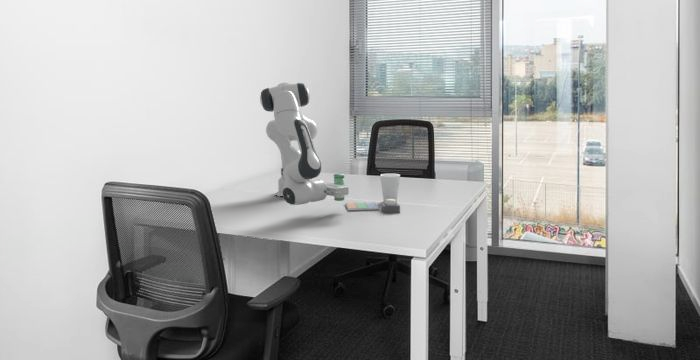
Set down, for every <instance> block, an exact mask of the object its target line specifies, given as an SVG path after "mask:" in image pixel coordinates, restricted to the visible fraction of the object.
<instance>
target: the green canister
mask: <svg viewBox="0 0 700 360" xmlns="http://www.w3.org/2000/svg"><path fill="white" fill-rule="evenodd" d="M333 183H334V184H338V185H345V173H334V174H333ZM333 198H334V199H333V200H334V201H338V202H343V201H345V195H344V196H333Z"/></svg>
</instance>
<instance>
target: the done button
mask: <svg viewBox="0 0 700 360" xmlns="http://www.w3.org/2000/svg"><path fill="white" fill-rule="evenodd" d="M384 203H385V202H384ZM396 203H397V202H396V200H395V199H386V203H385V205H386V206H393V205H396Z"/></svg>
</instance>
